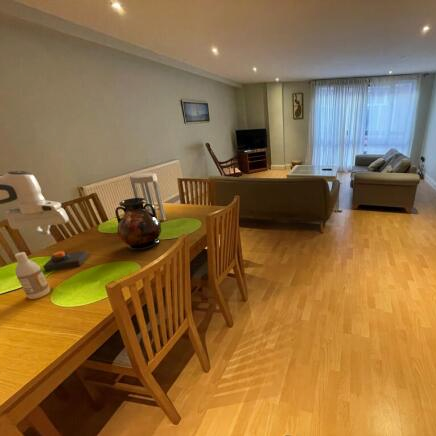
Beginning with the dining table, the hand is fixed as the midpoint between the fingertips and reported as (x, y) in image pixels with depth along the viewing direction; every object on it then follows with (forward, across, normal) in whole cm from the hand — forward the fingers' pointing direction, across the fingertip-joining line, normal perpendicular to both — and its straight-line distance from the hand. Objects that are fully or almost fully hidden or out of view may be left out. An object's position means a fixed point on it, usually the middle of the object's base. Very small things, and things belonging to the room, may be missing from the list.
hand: (45, 234), depth 114 cm
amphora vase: (+19, +36, +12) cm, 42 cm away
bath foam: (+19, +2, -22) cm, 29 cm away
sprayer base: (+19, +2, +4) cm, 19 cm away
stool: (+19, +36, +50) cm, 64 cm away
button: (+14, 0, +4) cm, 15 cm away
